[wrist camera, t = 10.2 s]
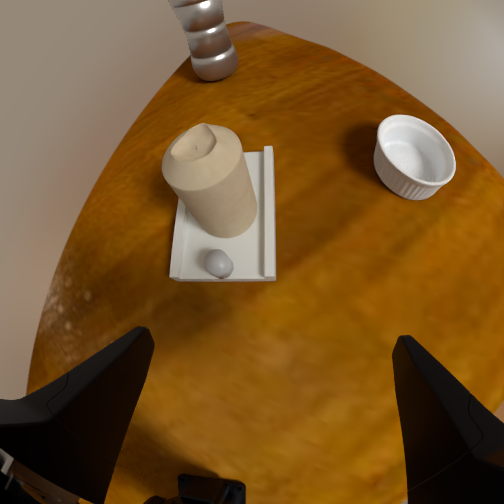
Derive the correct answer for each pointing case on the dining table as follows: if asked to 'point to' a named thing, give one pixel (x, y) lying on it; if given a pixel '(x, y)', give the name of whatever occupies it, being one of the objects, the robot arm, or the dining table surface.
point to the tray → (230, 249)
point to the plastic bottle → (207, 37)
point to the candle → (212, 179)
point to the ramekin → (412, 157)
